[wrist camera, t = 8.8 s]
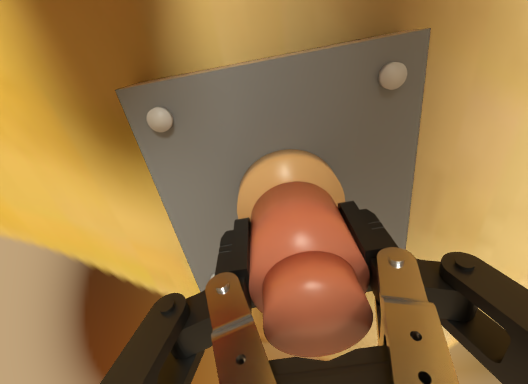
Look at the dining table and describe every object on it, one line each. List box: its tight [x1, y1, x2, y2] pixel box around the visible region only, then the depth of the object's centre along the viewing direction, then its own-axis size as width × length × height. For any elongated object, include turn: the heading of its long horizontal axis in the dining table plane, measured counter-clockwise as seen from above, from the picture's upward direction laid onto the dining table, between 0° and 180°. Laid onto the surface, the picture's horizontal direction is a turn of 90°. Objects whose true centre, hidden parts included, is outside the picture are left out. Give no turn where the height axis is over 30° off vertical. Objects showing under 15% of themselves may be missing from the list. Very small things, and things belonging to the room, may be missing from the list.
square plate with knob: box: [115, 28, 431, 292], centre depth 16 cm, size 15×15×4 cm
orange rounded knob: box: [249, 181, 373, 357], centre depth 11 cm, size 5×5×6 cm
